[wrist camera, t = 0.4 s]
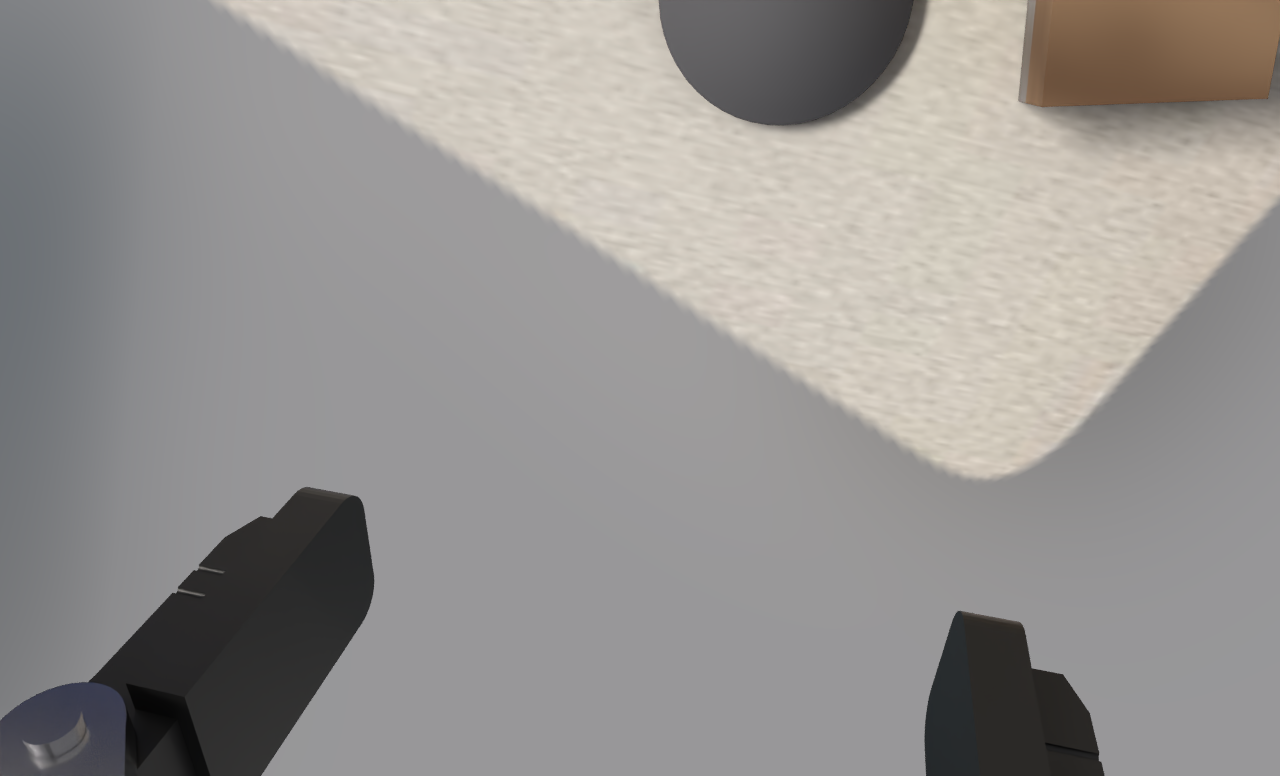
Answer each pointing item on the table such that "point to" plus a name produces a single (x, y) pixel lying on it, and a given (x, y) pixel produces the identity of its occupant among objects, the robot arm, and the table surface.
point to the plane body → (1147, 51)
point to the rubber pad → (783, 52)
